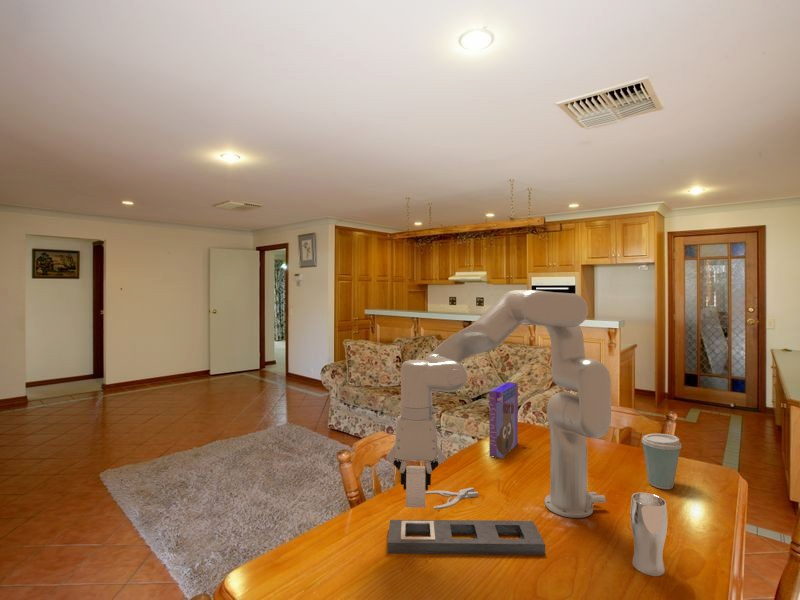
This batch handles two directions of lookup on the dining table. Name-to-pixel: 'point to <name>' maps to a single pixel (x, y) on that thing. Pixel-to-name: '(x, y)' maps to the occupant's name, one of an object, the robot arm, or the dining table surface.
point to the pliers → (462, 494)
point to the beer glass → (648, 532)
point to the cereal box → (503, 419)
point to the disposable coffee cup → (661, 459)
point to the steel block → (415, 486)
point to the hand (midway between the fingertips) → (415, 486)
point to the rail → (482, 543)
